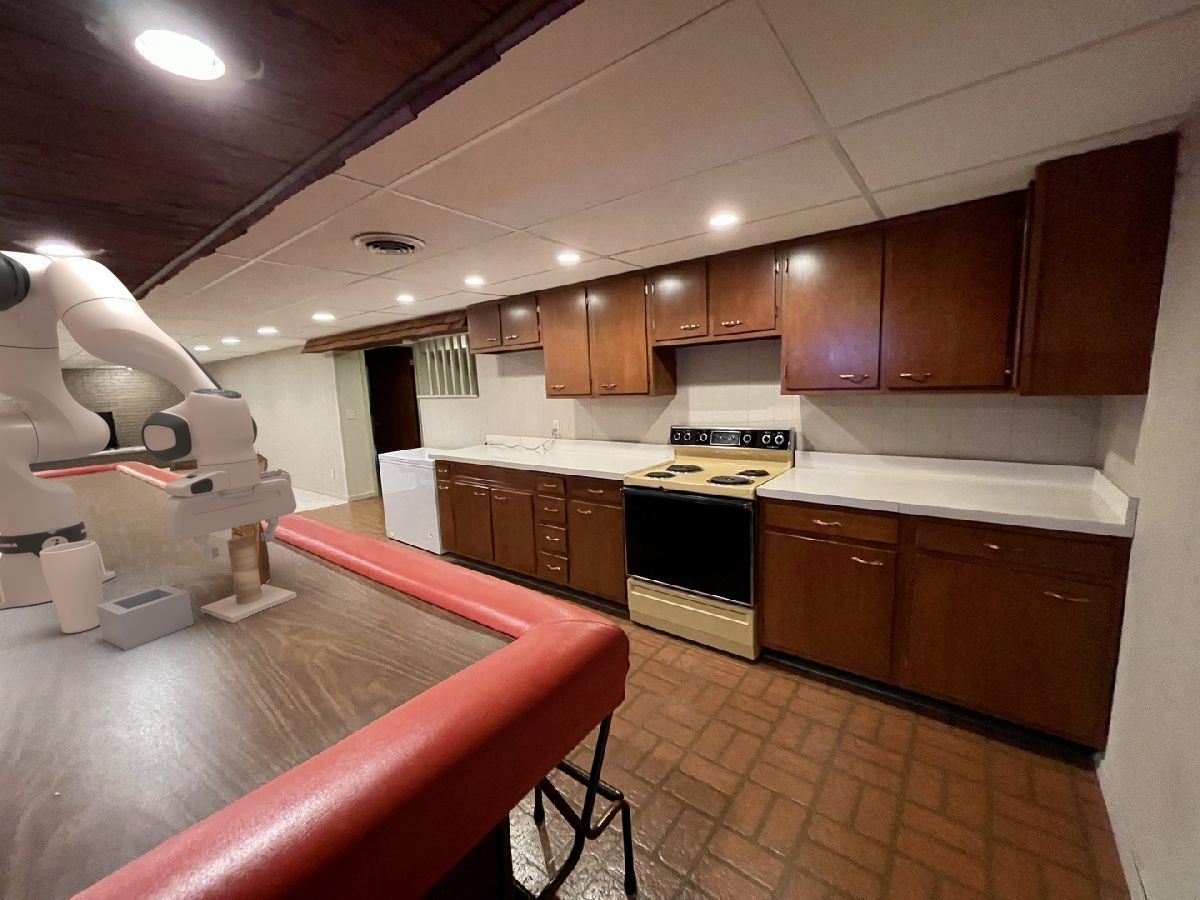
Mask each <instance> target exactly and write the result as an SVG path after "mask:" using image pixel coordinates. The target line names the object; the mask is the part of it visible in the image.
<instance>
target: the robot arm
mask: <svg viewBox="0 0 1200 900" xmlns="http://www.w3.org/2000/svg"><path fill="white" fill-rule="evenodd" d="M60 320H61V322H62V324H63V326H64V327H65V329H66V330H67V332H68V333H69V335H70V336H71V337H72V339H73V340H74V341H75V342H76V343H77V344H78V346H80V348H82V349H83V350H84V351H85V352H87V353H88V354H89V355H91V356H93V357H95V358H96V359H99V360H102V361H104V362H107V363H110V364H114V365H118V366H123V367H128V368H132V369H135V370H140V371H143V372H145V373H149V374H151V375H154V376H155V375H156V376H158V377H160V378H163V379H164V380H166V381H168V382H170V383H172V385H174V386H175V387H176V388H177V389H178V390H179V391H180V392H181V394H182V395H184V397H185V398H186V399H184V400H183V401H181V402H180V403H178V404H176V405H174V406H172V407H169V408H166V409H164V410H160V411H156V412H153V413H151V414H150V415H149V416H148V417H147V418H146V420H145V421H144V423H143V424H142V427H141V435H140V436H141V439H142V443H143V446H144V448H145V449H146V450H147V452H148V453H149V454H150V455H151V456H152V457H154V458H156V459H157V460H159V461H162V462H167V463H168V462H171V463H174V462H175V463H177V462H185V461H192V460H196V463H197V464H196V465H197V469H196V470H195V471H193V472H191V473H189V474H186V475H184V476H181V477H179V478H176V479H175V480H173V481H170V482H168V483H166V484H165V486H164V488H165V489H164V490H165V492H166V494H167V495H169V497H168V498H167V499H166V500H165V503H164V505H163V514H162V515H163V527H164V533H165V536H166V537H167V538H169V539H171V540H173V541H179V542H180V541H182V542H183V541H186V540H190V539H193V542H195V544H196V545H197V546H199V547H200V548H201V549H202V550H203V554H204V558H205V559H207V560H210V559H214V558H217V557H219V556H220V552H219V547H218V546H215V545H214V546H213V545H212V546H211V545H210V544H209V543H208V542H207V541H210V536H209V535H210V534H211V535H212V534H214V533H218V532H222V531H226V530H230V529H231V530H232V528H235V527H239V526H243V525H247V524H251V523H255V522H259V521H261V522H262V521H264V523H266V524H267V526H266V528H265V531H264V532H263V533H261V537H262V541H263V542H266V543H269V542H272V541H275V539H276V537H275V531H276V529H277V526H278V524H279V521H280V520H279V517H283V516H286V515H291V514H294V513H295V511H296V509H297V503H296V498H295V494H294V491H293V488H292V478H291V474H290V473H289V472H288V471H285V470H282V469H281V468H279V469H278V468H277V469H274V470H266V471H264V472H260V471H259V464H258V459H257V458H258V457H257V454H258V453H257V452H256V451H255V448H254V444H255V442H256V440H257V437H258V426H257V423H256V421H255V419H254V417H253V416H252V413H251V411H250V407H249V404H248V402H247V400H246V398H245V396H244V395H243V394H242V393H240V392H238V391H234V390H231V389H223V387H222V386H221V385H220V384H219V383H218V382H217V381H216V380H215V379H214V377H213V376H212V375H211V374H210V372H209V371H208V370H206V368H205V367H204V366H203V364H202V363H201V362H200V361H199V360H198V359H197V358H196V357H195V356H194V355H193V354H192V353H191V351H189V349H187V348H186V347H185V346H184V345H182V344H181V343H180V342H178V341H177V340H174V339H173V338H172V337H171V336H169V334H167V333H166V332H165V331H164V330H162V329H161V328H160V327H159V326H158V325H157V324H156V323H155V322H154V321H153V320H152V319H151V318H150V317H149V315H147V314H146V312H145V311H144V310H143V308H142V307H141V306H140V304H139V302H138V301H137V299H136V298H135V297H134V295H133V294H132V293H131V292H130V291H129V289H128V288H127V287H126V286H125V285H124V283H122V282H121V280H120V279H119V278H118V277H117V276H116V275H115V274H114V273H113V272H112V271H111V270H110V269H108V268H107V267H106V266H105V265H103V264H101V263H100V262H97V261H95V260H93V259H89V258H85V257H76V256H75V257H73V256H72V257H64V258H63V257H57V256H52V255H47V254H41V253H38V254H34V253H27V252H19V251H7V250H0V394H2V395H6V396H10V397H12V398H17V399H18V400H19V403H20V405H21V409H20V410H16V411H15V410H13V411H11V410H10V411H0V553H1V555H0V610H3V609H7V608H17V607H25V606H31V605H35V604H36V605H38V604H43V603H47V602H51V601H52V598H51V596H50V593H49V590H48V587H47V585H46V582H45V579H44V576H43V572H42V567H41V562H40V554H39V552H40V551H42V550H44V549H47V548H50V547H53V546H57V545H62V544H67V543H72V542H79V541H89V540H88V539H87V537H88V534H87V527H86V525H85V523H84V521H81V515H80V510H79V506H78V505H79V504H78V500H77V494H76V492H75V490H74V488H73V487H72V486H70V485H68V484H67V483H65V482H61V481H58V480H53V479H48V478H44V477H38V476H37V475H36V474H34V473H33V472H32V471H31V469H30V465H32V464H38V463H48V462H56V461H57V462H58V461H65V460H66V461H67V460H75V459H78V458H82V457H86V456H90V455H94V454H98V453H101V452H102V451H103V450H104V449H105V448H106V447H107V445H108V444H109V441H110V437H111V432H110V431H111V430H110V427H109V424H108V423H107V422H106V420H105V419H103V417H101V416H100V415H99V414H97V413H96V412H94V411H92V410H89V409H88V408H86V407H84V406H83V405H81V403H78V401H77V400H76V399H75V398H74V397H73V396H72V395H71V393H70V392H69V390H68V389H67V387H66V385H65V382H64V379H63V373H62V366H61V357H60V343H59V335H58V322H59V321H60ZM96 545H97V548H98V552H99V557H100V564H101V577H102V584H103V583H105V582H106V581H108V580H110V579H113V578H115V577H116V572H115V571H113V570H112V571H111V570H106V568H105V565H104V560H103V557H102V554H101V551H100V546H99V545H98V544H97V543H96ZM52 602H53V601H52Z"/></svg>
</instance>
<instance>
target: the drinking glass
mask: <svg viewBox="0 0 1200 900" xmlns="http://www.w3.org/2000/svg"><path fill="white" fill-rule="evenodd" d="M96 544H97V542H96V540H88V541H79V542H72V543H67V544H62V545H57V546H53V547H50V548H47V549H44V550H42V551H40V552H39V554H40V562H41V567H42V572H43V576H44V579H45V582H46V585H47V587H48V590H49V593H50V596H51V598H52V603H53V607H54V609H55V613H56V615H57V618H58V622H59V625H60V630H61V632H62V633H64V634H77V633H82V632H86V631H89V630H91V629H94V628H97V627H98V626H99V627H100V623H99V618H98V613H97V608H96V605H99V604H102V603H104V594H103V583H102V577H101V564H100V557H99V552H98V548H97V545H98V544H97V545H96Z"/></svg>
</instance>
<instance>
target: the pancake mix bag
mask: <svg viewBox="0 0 1200 900" xmlns="http://www.w3.org/2000/svg"><path fill="white" fill-rule="evenodd" d="M256 454H257V457H258V458H257V459H258V464H259V471H260V472H264V471H268V466H269V464H268V462H269V461H268V459H267V458H266V457H265V456H263V455H262V454H260V453H256ZM263 532H265V531H264V527H263V524H262V521H259V522H255V523H251V524H247V525H243V526H239V527H235V528H231V539H233V538H236V537H241V536H254V541H255V548H256V555H257V562H258V569H259V576H260V583H261V585H263V584H265V583H266V582H267V581H268V580H269V579H270V580H271V568H270V555H269V549H268V546H267V542H263V541H262V537H261V533H263ZM266 584H267V583H266ZM266 584H265V585H266Z"/></svg>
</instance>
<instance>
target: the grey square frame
mask: <svg viewBox="0 0 1200 900" xmlns="http://www.w3.org/2000/svg"><path fill="white" fill-rule="evenodd" d="M96 608H97V613H98V618H99V623H100V625H99V627H100V633H101V637H102V640H103V639H104V641H105V640H106V642H108V643H110V644H112V645H114V646H116V647H118V648H120V649H122V650H124V651H127V650H130V649H133V648H136V647H138V646H141V645H143V644H146V643H148V642H151V641H154V640H156V639H159V638H161V637H164V636H167V635H169V634H172V633H175V632H177V631H180V630H182V629H185V628H187V626H188V627H190V626H193V625H194V624H195V623H194V622H195V621H194V616H193V611H192V610H193V609H192V605H191V598H190V591H187V590H184V589H181V588H177V587H173V586H172V585H171V586H170V585H167V584H161V585H159V586H155V587H152V588H148V589H145V590H142V591H139V592H135V593H132V594H128V595H126V596H122V597H119V598H115V599H113V600H110V601H109V600H108V601H106V602H103V603H102V604H99V605H96ZM192 624H193V625H192ZM135 646H136V647H135Z"/></svg>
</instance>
